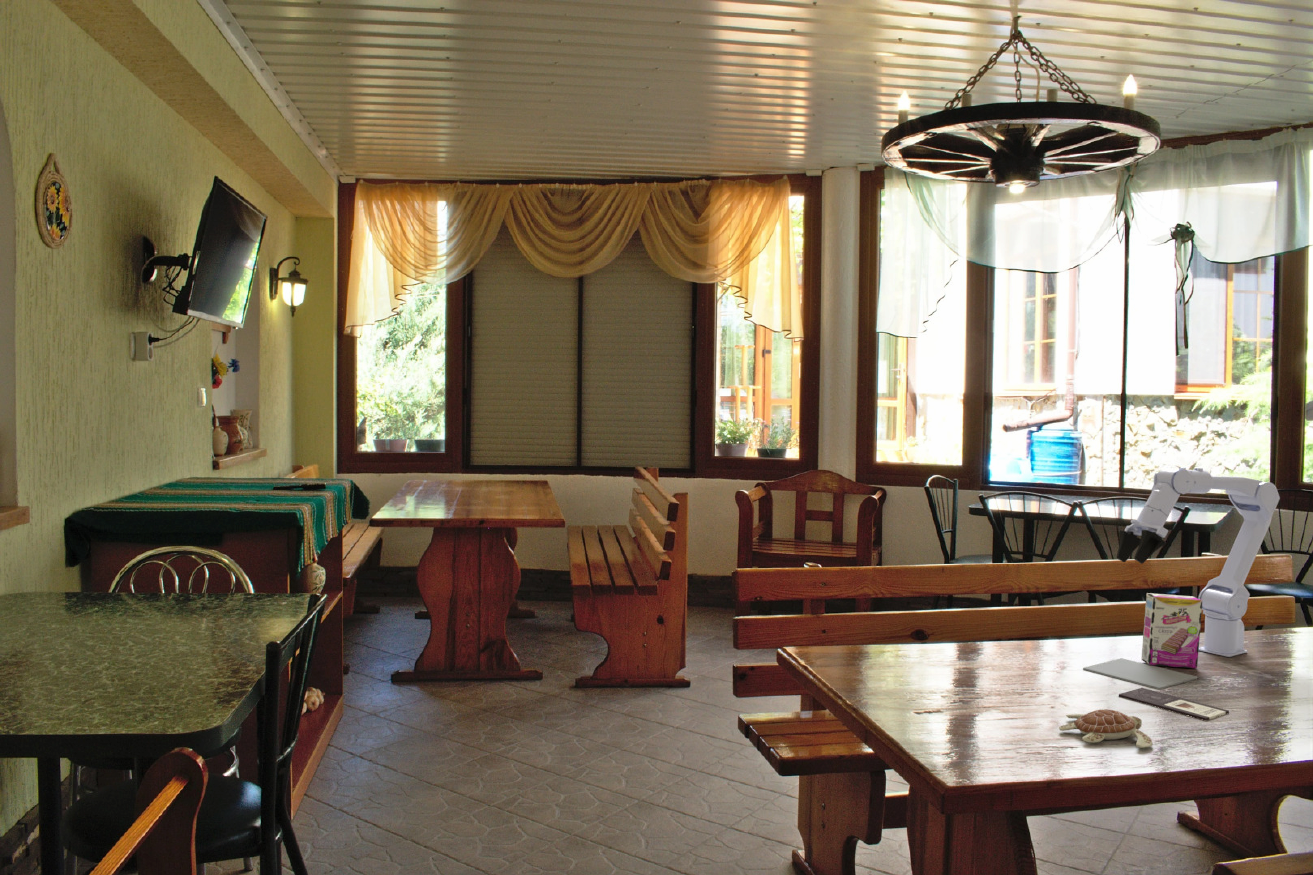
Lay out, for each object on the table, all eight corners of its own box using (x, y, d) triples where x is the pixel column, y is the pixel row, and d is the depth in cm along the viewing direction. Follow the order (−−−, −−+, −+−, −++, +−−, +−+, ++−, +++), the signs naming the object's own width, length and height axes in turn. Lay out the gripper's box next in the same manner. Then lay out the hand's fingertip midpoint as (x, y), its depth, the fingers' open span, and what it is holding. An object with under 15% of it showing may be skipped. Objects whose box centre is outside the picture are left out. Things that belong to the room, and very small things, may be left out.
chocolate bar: (1142, 687, 211) (1228, 710, 196) (1142, 691, 211) (1228, 715, 196) (1118, 694, 206) (1205, 718, 191) (1118, 698, 206) (1205, 722, 191)
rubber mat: (1121, 659, 235) (1121, 658, 235) (1197, 678, 220) (1197, 676, 220) (1083, 669, 226) (1083, 667, 226) (1159, 689, 211) (1159, 687, 211)
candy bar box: (1149, 665, 229) (1153, 596, 228) (1140, 660, 234) (1144, 592, 233) (1199, 669, 228) (1203, 599, 227) (1189, 663, 233) (1193, 595, 232)
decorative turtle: (1181, 748, 177) (1182, 721, 177) (1110, 759, 171) (1111, 731, 171) (1103, 717, 194) (1104, 692, 194) (1036, 725, 188) (1037, 700, 188)
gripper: (1124, 504, 244) (1099, 550, 242) (1159, 503, 229) (1132, 553, 228) (1148, 519, 244) (1123, 565, 242) (1184, 519, 229) (1157, 568, 228)
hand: (1129, 560), depth 235 cm, fingers open, 7 cm apart
